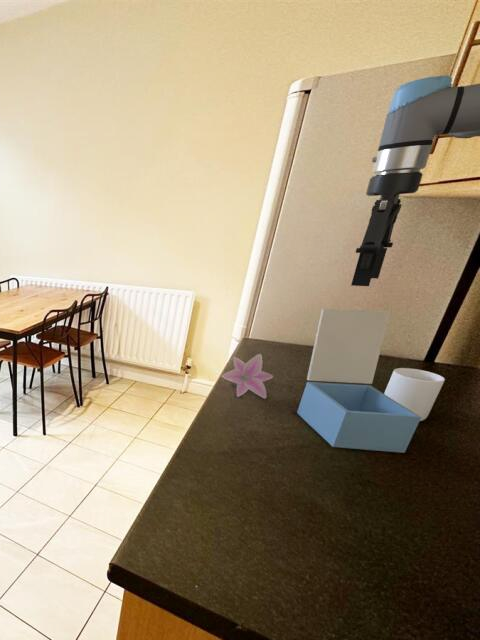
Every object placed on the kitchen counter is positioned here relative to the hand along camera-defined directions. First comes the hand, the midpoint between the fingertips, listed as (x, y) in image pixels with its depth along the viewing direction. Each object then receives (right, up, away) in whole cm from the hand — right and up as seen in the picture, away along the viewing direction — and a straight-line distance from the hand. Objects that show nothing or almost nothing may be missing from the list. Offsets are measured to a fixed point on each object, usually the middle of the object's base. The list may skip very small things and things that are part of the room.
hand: (365, 281), depth 90 cm
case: (-2, -33, +3) cm, 33 cm away
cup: (+19, -29, +11) cm, 36 cm away
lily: (-12, -25, +23) cm, 35 cm away
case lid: (0, -14, +4) cm, 14 cm away
